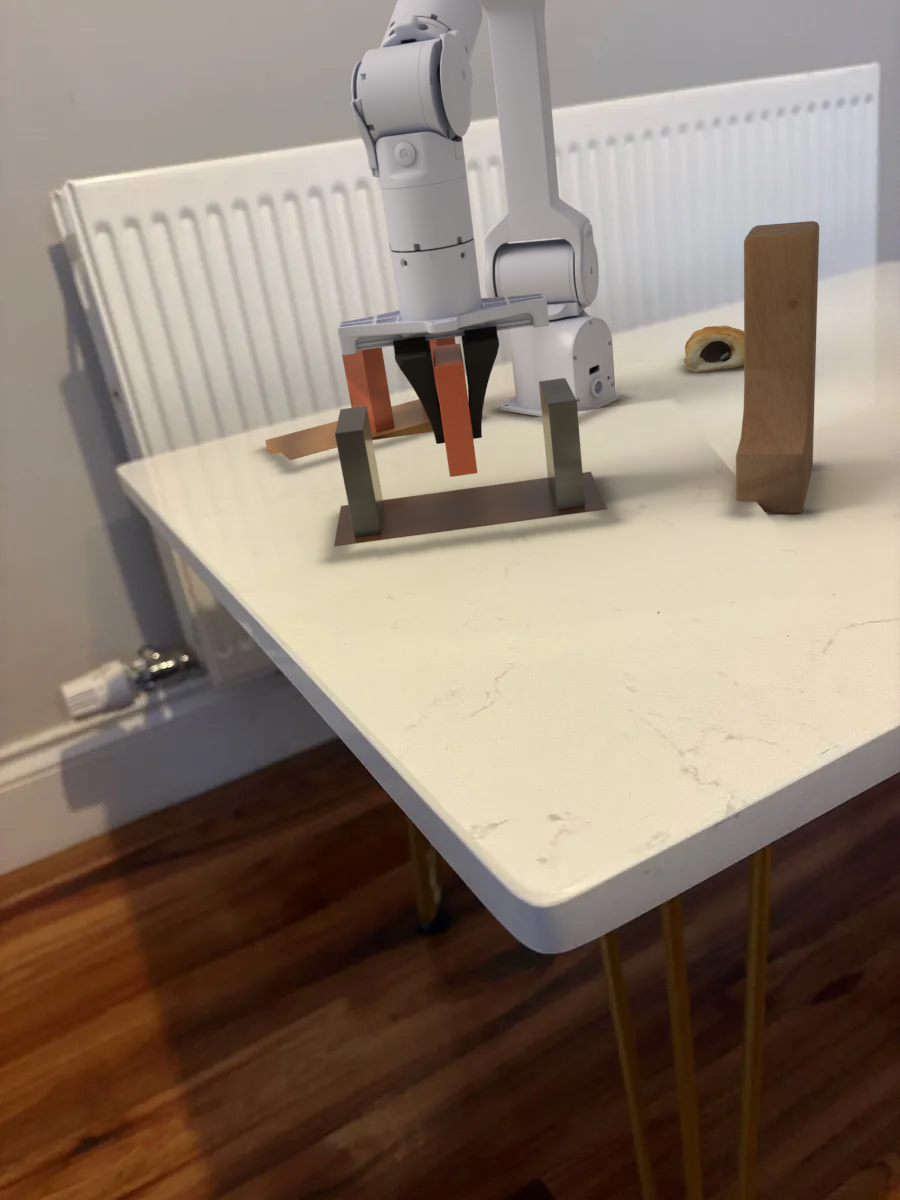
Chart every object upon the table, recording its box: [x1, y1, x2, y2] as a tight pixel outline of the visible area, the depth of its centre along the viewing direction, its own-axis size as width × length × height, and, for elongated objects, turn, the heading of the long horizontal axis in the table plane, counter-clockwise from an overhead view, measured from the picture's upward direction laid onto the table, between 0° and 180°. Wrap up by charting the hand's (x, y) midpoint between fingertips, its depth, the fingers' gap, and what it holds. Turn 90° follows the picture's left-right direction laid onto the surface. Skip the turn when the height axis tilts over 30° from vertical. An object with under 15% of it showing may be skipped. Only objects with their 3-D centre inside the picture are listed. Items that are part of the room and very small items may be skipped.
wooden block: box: [735, 220, 820, 514], centre depth 71 cm, size 9×4×18 cm, turn 159°
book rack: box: [264, 337, 457, 461], centre depth 99 cm, size 19×8×9 cm, turn 116°
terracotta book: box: [433, 343, 478, 478], centre depth 74 cm, size 2×6×8 cm, turn 2°
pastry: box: [683, 325, 744, 373], centre depth 107 cm, size 9×7×4 cm
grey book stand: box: [333, 378, 608, 547], centre depth 76 cm, size 20×8×9 cm, turn 92°
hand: (458, 436), depth 75 cm, fingers closed on terracotta book, 2 cm apart
